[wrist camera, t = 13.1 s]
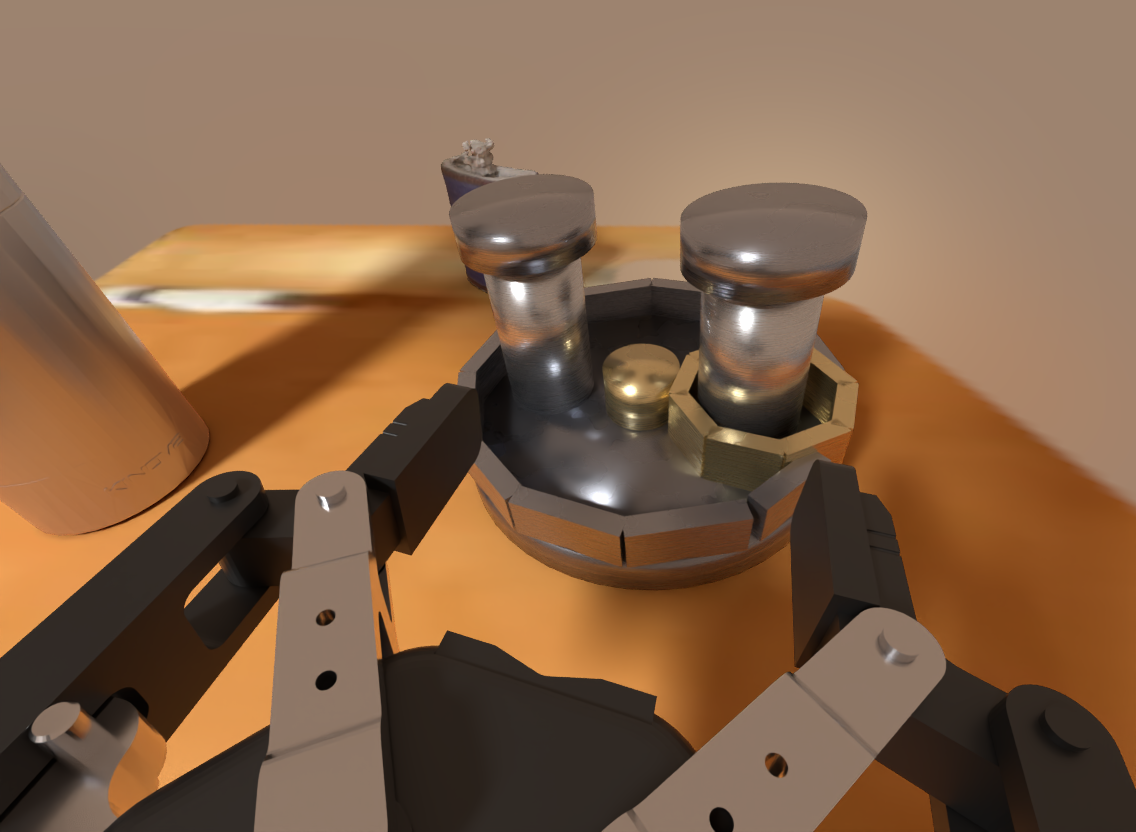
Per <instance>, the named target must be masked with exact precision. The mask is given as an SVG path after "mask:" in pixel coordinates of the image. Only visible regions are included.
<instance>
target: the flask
mask: <svg viewBox="0 0 1136 832" xmlns="http://www.w3.org/2000/svg"><path fill="white" fill-rule="evenodd" d="M486 141H487V142H486V143H483V142H480V141H478V140H471V141H470V143H471V145H470V146H469V145H468V141H466V142H464V143H463V148H464V150H465V152H464V153H462V154H461V155H459V156H454V157H452V158H449V159H446V160H444V161H443V162H442V164H441V170H442V174H443V177H444V180H445V184H446V187H447V192H448V196H449V201H450V204H451V206H452V205H453V204H454V203H455V202H456V201H457V200H458V199H459V198H460V197H462V196H463V195H465V194H466V193H468V192H470V191H472V190H474V189H476V188H478V187H481V186H484V185H486V184H489V183H492V182H496V181H500V180H503V179H508V178H513V177H519V176H526V175H539V174H538V173H537V172H535V171H532V170H522V169H513V168H508V167H502V166H496V165H493V164H492V160H493V155H492V153H490V152H489V151H490V150H491V149H493V147H494V143H493V141H491V139H490V138H489V139H486ZM469 149H470V150H471V152H472V156H468V152H467V151H468V150H469ZM465 267H466V273H467V277H468V281H470V283H471V284H472V285H474V286H476V287H477V288H479V289H482V290H483V291H484V292H486V293H488V290H487V286H486V282H485V278H484V274H483V273H479V272H477V271H474V270H472V269H470V268H469V267H467V266H466V265H465Z"/></svg>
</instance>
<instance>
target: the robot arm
mask: <svg viewBox="0 0 1136 832" xmlns="http://www.w3.org/2000/svg"><path fill="white" fill-rule="evenodd" d="M208 443H209V429H208V427H207V426H206V424H205V422H204V421H203V420H202V418H201V417H200V416H199V415H198V413H197V412H196V411H195V410H194V408H193V407H192V406H191V404H190V403H189V402H188V401H187V399H186V398H185V397H184V396H183V394H182V393H181V392H180V390H179V389H178V388H177V387H176V385H175V384H174V383H173V382H172V380H171V379H170V378H169V376H168V375H167V373H166V372H165V371H164V370H163V368H162V367H161V366H160V365H159V363H158V362H157V361H156V359H155V358H154V357H153V356H152V354H151V353H150V352H149V351H148V349H147V348H146V347H145V345H144V344H143V343H142V342H141V340H140V339H139V338H138V337H137V335H136V334H135V333H134V332H133V330H132V329H131V328H130V326H129V325H128V324H127V323H126V321H125V320H124V319H123V318H122V316H121V315H120V314H119V313H118V311H117V310H116V309H115V307H114V306H113V305H112V304H111V302H110V301H109V300H108V299H107V297H106V296H105V295H104V294H103V292H102V291H101V290H100V288H99V287H98V286H97V285H96V283H95V282H94V281H93V280H92V278H91V277H90V276H89V274H88V273H87V272H86V271H85V269H84V268H83V267H82V266H81V264H80V263H79V262H78V261H77V259H76V258H75V257H74V256H73V254H72V253H71V252H70V250H69V249H68V248H67V247H66V245H65V244H64V243H63V242H62V240H61V239H60V238H59V236H58V235H57V234H56V233H55V231H54V230H53V229H52V228H51V226H50V225H49V224H48V222H47V221H46V220H45V219H44V218H43V216H42V215H41V214H40V212H39V211H38V210H37V209H36V207H35V206H34V205H33V203H32V202H31V201H30V200H29V198H28V197H27V196H26V195H25V193H24V192H23V191H22V190H21V189H20V188H19V186H18V185H17V184H16V183H15V181H14V180H13V179H12V177H11V176H10V175H9V174H8V172H7V171H6V170H5V169H4V167H3V166H2V165H1V163H0V500H1V501H2V502H3V503H5V504H6V505H7V506H9V507H10V508H11V509H12V510H14V511H15V512H16V513H18V514H19V515H20V516H22V517H23V518H24V519H26V520H27V521H28V522H30V523H31V524H32V525H34V526H35V527H36V528H38V529H40V530H41V531H43V532H45V533H49V534H54V535H77V534H81V533H86V532H91V531H95V530H99V529H101V528H104V527H107V526H110V525H113V524H116V523H118V522H120V521H122V520H125V519H127V518H129V517H131V516H133V515H135V514H137V513H139V512H141V511H142V510H144V509H146V508H147V507H149V506H151V505H152V504H154V503H156V502H157V501H159V500H160V499H161V498H163V497H164V496H165V495H167V494H168V493H169V492H171V491H172V490H173V489H175V488H176V487H177V486H178V485H179V484H180V483H181V482H182V481H183V480H184V479H185V478H186V477H188V476H189V474H190V473H191V472H192V471H193V470H194V468H195V467H196V466H197V465H198V463H199V462H200V461H201V459H202V457H203V455H204V453H205V452H206V450H207V446H208ZM481 443H482V432H481V420H480V409H479V397H478V392H477V390H476V389H474V388H469V387H465V386H460V385H455V384H450V383H446V384H444V385H443V386H442V387H441V388H440V389H439V390H438V391H437V392H436V393H435V394H434V396H433V397H432V398H431V399H430V400H429V399H425V398H423V399H421V400H419V401H417V402H415V403H414V404H412V405H410V406H408V407H406V408H405V409H404V410H403V411H402V412H401V413H400V414H399V415H398V416H397V417H396V418H395V419H394V420H393V423H390V425H389V426H388V427H387V428H386V429H385V430H384V431H383V434H380V435H379V436H378V437H377V438H376V439H375V440H374V441H373V442H372V443H371V444H370V445H369V447H368V448H367V449H366V450H365V451H364V452H363V453H362V454H361V455H360V456H359V457H358V458H357V459H356V460H355V461H354V462H353V463H352V464H351V465H350V466H349V468H348V469H347V470H346V471H333V472H328V473H324V474H322V475H319V476H317V477H315V478H313V479H311V480H310V481H308V482H307V483H306V484H305V485H304V486H303V487H302V488H301V489H300V490H264V488H263V486H262V483H261V481H260V479H259V478H258V477H257V476H256V475H255V474H253V473H250V472H246V471H232V472H226V473H222V474H219V475H216V476H214V477H211V478H209V479H208V480H206V481H204V482H202V483H201V484H200V485H198V486H197V487H196V488H195V489H193V490H192V491H191V492H190V493H189V494H188V495H187V496H185V497H184V498H183V499H182V500H181V501H180V502H179V503H177V504H176V505H175V506H174V507H173V508H172V509H171V510H169V511H168V512H167V513H166V514H165V515H164V516H162V517H161V518H160V519H159V520H158V521H157V522H156V523H154V524H153V525H152V526H151V527H150V528H149V529H148V530H146V531H145V532H144V533H143V534H142V535H141V536H140V537H138V538H137V539H136V540H135V541H134V542H133V543H132V544H130V545H129V546H128V547H127V548H126V549H125V550H124V551H122V552H121V553H120V554H119V555H118V556H117V557H116V558H114V559H113V560H112V561H111V562H110V563H109V564H108V565H106V566H105V567H104V568H103V569H102V570H101V571H100V572H98V573H97V574H96V575H95V576H94V577H93V578H92V579H90V580H89V581H88V582H87V583H86V584H85V585H84V586H82V587H81V588H80V589H79V590H78V591H77V592H76V593H74V594H73V595H72V596H71V597H70V598H69V599H68V600H66V601H65V602H64V603H63V604H62V605H61V606H60V607H58V608H57V609H56V610H55V611H54V612H53V613H52V614H50V615H49V616H48V617H47V618H46V619H45V620H44V621H42V622H41V623H40V624H39V625H38V626H37V627H36V628H34V629H33V630H32V631H31V632H30V633H29V634H28V635H26V636H25V637H24V638H23V639H22V640H21V641H20V642H18V643H17V644H16V645H15V646H14V647H13V648H12V649H10V650H9V651H8V652H7V653H6V654H5V655H4V656H2V657H1V658H0V832H813V831H814V830H815V829H816V828H817V827H818V825H819V824H820V823H821V822H822V821H823V820H824V818H825V817H826V816H827V815H828V814H829V812H830V811H831V810H832V809H833V808H834V806H835V805H836V804H837V803H838V802H839V801H840V799H841V798H842V797H843V796H844V795H845V793H846V792H847V791H848V790H849V789H850V787H851V786H852V785H853V784H854V783H855V782H856V780H857V779H858V778H859V777H860V776H861V774H862V773H863V772H864V771H865V770H866V768H867V767H868V766H869V765H870V764H871V763H872V761H873V760H874V759H875V760H877V761H878V762H880V763H881V764H883V765H884V766H886V767H888V768H889V769H891V770H892V771H894V772H895V773H897V774H899V775H900V776H902V777H903V778H905V779H906V780H908V781H910V782H911V783H913V784H914V785H916V786H917V787H919V788H921V789H922V790H924V791H925V792H927V793H928V794H929V797H930V804H931V811H932V818H933V825H934V832H1136V789H1135V787H1134V784H1133V782H1132V779H1131V777H1130V775H1129V772H1128V770H1127V767H1126V765H1125V762H1124V760H1123V758H1122V755H1121V753H1120V750H1119V748H1118V747H1117V745H1116V743H1115V741H1114V739H1113V738H1112V736H1111V735H1110V733H1109V732H1108V731H1107V730H1106V728H1105V727H1104V726H1103V725H1102V724H1101V723H1100V722H1099V721H1098V720H1097V719H1096V718H1095V717H1094V716H1093V715H1092V714H1091V713H1090V712H1089V711H1088V710H1086V709H1085V708H1084V707H1082V706H1081V705H1080V704H1078V703H1077V702H1076V701H1074V700H1072V699H1071V698H1069V697H1067V696H1066V695H1064V694H1061V693H1059V692H1057V691H1055V690H1052V689H1050V688H1047V687H1043V686H1039V685H1031V684H1029V685H1021V686H1017V687H1015V688H1014V689H1012V690H1011V691H1010V692H1009V693H1008V694H1007V693H1006V692H1004V691H1002V690H1000V689H998V688H996V687H994V686H992V685H990V684H988V683H987V682H985V681H983V680H981V679H979V678H977V677H975V676H973V675H971V674H969V673H968V672H966V671H964V670H962V669H960V668H959V667H957V666H955V665H954V664H953V663H951V662H950V661H948V660H947V659H946V658H945V655H944V653H943V650H942V648H941V646H940V645H939V643H938V641H937V640H936V639H935V638H934V636H933V635H932V634H931V633H930V632H929V631H928V630H927V629H926V628H925V627H924V626H922V625H921V624H920V623H919V622H917V620H916V616H915V612H914V608H913V604H912V600H911V595H910V591H909V587H908V583H907V579H906V575H905V571H904V566H903V562H902V558H901V556H899V554H900V550H899V546H898V541H897V540H896V539H895V537H896V533H895V529H894V525H893V521H892V517H891V514H890V513H889V512H888V510H887V509H886V508H885V506H884V505H883V504H882V502H881V501H880V500H879V499H878V497H877V496H876V495H872V494H867V493H862V492H860V491H859V486H858V481H857V475H856V470H855V468H854V467H853V466H848V465H843V464H838V463H833V462H829V461H824V460H819V459H816V460H815V461H814V463H813V465H812V467H811V469H810V472H809V474H808V477H807V479H806V482H805V484H804V487H803V489H802V492H801V494H800V497H799V499H798V502H797V504H796V507H795V510H794V513H793V517H792V522H791V530H790V544H791V574H792V603H793V632H794V661H795V667H797V668H800V669H799V670H798V671H796V672H795V673H794V674H792V673H791V672H787V673H785V674H783V675H782V676H781V677H779V678H778V679H777V680H776V681H775V682H774V683H773V684H771V685H770V686H769V687H768V688H767V689H766V690H765V691H764V692H763V693H761V694H760V695H759V696H758V697H757V698H756V699H755V700H754V701H753V702H752V703H750V704H749V705H748V706H747V707H746V708H745V709H744V710H743V711H742V712H741V713H739V714H738V715H737V716H736V717H735V718H734V719H733V720H732V721H731V722H729V723H728V724H727V725H726V726H725V727H724V728H723V729H722V730H721V731H720V732H718V733H717V734H716V735H715V736H714V737H713V738H712V739H711V740H710V741H709V742H707V743H706V744H705V745H704V746H703V747H702V748H701V749H700V750H699V751H697V752H696V751H695V750H694V748H693V747H692V746H691V745H690V743H689V742H688V741H687V740H686V739H685V738H684V737H683V736H682V735H681V734H680V733H679V732H678V731H677V730H676V729H675V728H674V727H672V726H671V725H670V724H669V723H667V722H666V721H665V720H664V719H662V718H660V717H659V716H657V715H656V714H654V710H655V704H656V698H657V696H654V695H651V694H647V693H644V692H641V691H638V690H635V689H632V688H628V687H625V686H622V685H619V684H616V683H612V682H609V681H606V680H603V679H589V678H570V677H550V676H543V675H540V674H539V673H537V672H535V671H534V670H532V669H531V668H529V667H527V666H526V665H524V664H523V663H521V662H520V661H518V660H517V659H515V658H514V657H512V656H511V655H509V654H507V653H506V652H504V651H503V650H501V649H500V648H498V647H497V646H495V645H492V644H489V643H485V642H482V641H479V640H476V639H473V638H470V637H466V636H463V635H460V634H457V633H454V632H450V631H447V632H446V634H445V636H444V638H443V639H442V641H441V643H440V645H439V646H425V647H417V648H412V649H408V650H404V651H401V652H400V651H399V646H398V641H397V636H396V629H395V620H394V612H393V604H392V596H391V587H390V579H389V571H388V565H387V560H388V558H389V557H390V556H391V554H392V553H393V551H398V552H401V553H405V554H408V555H412V554H413V552H414V551H415V549H416V548H417V546H418V545H419V543H420V542H421V540H422V539H423V537H424V536H425V535H426V533H427V532H428V530H429V529H430V527H431V526H432V524H433V523H434V521H435V520H436V518H437V517H438V515H439V514H440V512H441V511H442V509H443V508H444V507H445V505H446V504H447V502H448V501H449V499H450V498H451V496H452V495H453V493H454V492H455V490H456V489H457V487H458V486H459V484H460V483H461V481H462V480H463V479H464V477H465V476H466V474H467V473H468V471H469V470H470V468H471V467H472V465H473V464H474V462H475V461H476V459H477V457H478V455H479V452H480V448H481ZM218 562H219V564H220V566H221V568H222V569H221V570H220V571H219V572H218V573H217V574H216V575H215V576H214V577H213V578H212V579H211V580H210V581H209V583H208V584H207V585H206V586H205V587H204V588H203V589H202V590H201V591H200V592H199V593H198V594H197V595H196V597H195V598H194V599H193V600H192V601H191V602H190V603H189V604H188V605H187V606H186V607H185V608H184V605H185V602H186V599H187V597H188V596H189V594H190V593H191V591H192V590H193V589H194V588H195V587H196V586H197V585H198V584H199V582H200V581H201V580H202V579H203V578H204V577H205V576H206V575H207V574H208V573H209V572H210V571H211V570H212V569H213V568H214V567H215V566H216V564H217V563H218ZM278 599H279V607H278V621H277V635H276V649H275V664H274V678H273V692H272V706H271V721H270V725H268V726H266V727H265V728H263V729H261V730H259V731H258V732H256V733H254V734H253V735H251V736H249V737H247V738H246V739H244V740H242V741H241V742H239V743H237V744H235V745H234V746H232V747H230V748H229V749H227V750H225V751H223V752H222V753H220V754H218V755H217V756H215V757H213V758H211V759H210V760H208V761H206V762H205V763H203V764H201V765H199V766H198V767H196V768H194V769H193V770H191V771H189V772H187V773H186V774H184V775H182V776H181V777H179V778H177V779H175V780H174V781H172V782H170V783H169V784H167V785H165V786H163V787H162V788H160V789H158V786H159V780H158V776H159V774H160V772H161V770H162V768H163V765H164V762H165V759H166V753H167V748H166V742H167V741H168V739H169V738H170V737H171V736H172V734H173V733H174V732H175V731H176V729H177V728H178V727H179V725H180V724H181V723H182V722H183V720H184V719H185V718H186V716H187V715H188V714H189V713H190V711H191V710H192V709H193V707H194V706H195V705H196V704H197V702H198V701H199V700H200V698H201V697H202V696H203V695H204V693H205V692H206V691H207V690H208V688H209V687H210V686H211V684H212V683H213V682H214V681H215V679H216V678H217V677H218V675H219V674H220V673H221V672H222V670H223V669H224V668H225V666H226V665H227V664H228V663H229V661H230V660H231V659H232V657H233V656H234V655H235V654H236V652H237V651H238V650H239V649H240V647H241V646H242V645H243V643H244V642H245V641H246V640H247V638H248V637H249V636H250V634H251V633H252V632H253V631H254V629H255V628H256V627H257V625H258V624H259V623H260V622H261V620H262V619H263V618H264V616H265V615H266V614H267V613H268V611H269V610H270V609H271V608H272V606H273V605H274V604H275V602H276V601H277V600H278ZM157 789H158V790H157Z"/></svg>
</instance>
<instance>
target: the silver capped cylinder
mask: <svg viewBox="0 0 1136 832" xmlns="http://www.w3.org/2000/svg"><path fill="white" fill-rule="evenodd" d="M866 220H867V211H866V208H865V207H864V205H863V204H862V203H861V202H860V201H858V200H857V199H855V198H854V197H852V196H850V195H848V194H846V193H843V192H840V191H837V190H834V189H830V188H826V187H821V186H816V185H809V184H799V183H762V184H751V185H743V186H738V187H732V188H728V189H723V190H720V191H716V192H713V193H711V194H708V195H705V196H703V197H701V198H699V199H697V200H696V201H694V202H693V203H691V204H690V205H688V206H687V207H686V208H685V209H684V211H683V212H682V215H681V230H680V268H681V272H682V275H683V276H684V278H685V279H686V280H687V281H688V282H689V283H690V284H691V285H693V286H694V287H695V288H697V289H699V290H701V310H700V340H699V369H698V399H697V403H698V404H699V405H700V406H701V408H702V409H703V410H704V411H705V412H706V413H707V414H708V416H709V417H710V418H711V419H712V420H713V421H714V422H715V424H716V425H717V426H719V427H723V428H728V429H733V430H737V431H742V432H747V433H751V434H756V435H761V436H765V437H770V438H775V439H779V440H780V439H783V438H785V437H788V436H791V435H793V434H796V433H797V428H798V423H799V418H800V413H801V408H802V403H803V398H804V393H805V388H806V383H807V378H808V373H809V368H810V363H811V358H812V353H813V348H814V343H815V338H816V333H817V328H818V323H819V318H820V313H821V308H822V303H823V298H824V295H825V294H827V293H830V292H832V291H834V290H836V289H838V288H839V287H841V286H842V285H844V284H845V283H846V282H847V281H848V280H850V278H851V277H852V275H853V273H854V271H855V267H856V263H857V259H858V254H859V250H860V245H861V241H862V237H863V233H864V229H865V224H866Z"/></svg>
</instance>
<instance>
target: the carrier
mask: <svg viewBox="0 0 1136 832" xmlns="http://www.w3.org/2000/svg"><path fill="white" fill-rule="evenodd" d="M449 216H450V220H451V224H452V228H453V231H454V235H455V239H456V243H457V246H458V250H459V254H460V257H461V260H462V262H463V263H464V264H465V265H466V266H467V267H469V268H470V269H472V270H474V271H477V272H479V273H483V274H484V278H485V282H486V286H487V290H488V294H489V298H490V302H491V307H492V311H493V315H494V319H495V323H496V327H497V330H496V331H495V332H494V333H493V335H492V336H491V337H490V338H489V339H488V340H487V341H486V342H485V343H484V344H483V345H482V347H481V348H480V349H479V350H478V351H477V352H476V353H475V354H474V355H473V356H472V358H471V359H470V360H469V361H468V362H467V363H466V364H465V365H464V366H463V367H462V368H461V370H460V372H459V375H458V385H460V386H465V387H469V388H474V389H476V390H477V392H478V397H479V409H480V420H481V432H482V443H481V448H480V452H479V455H478V457H477V459H476V461H475V462H474V464H473V465H472V467H471V468H470V470H469V471H468V473H469V474H470V475H471V476H472V478H473V479H474V480H475V483H476V486H477V489H478V492H479V494H480V496H481V499H482V501H483V504H484V506H485V508H486V510H487V511H488V513H489V514H490V516H491V518H492V519H493V521H494V522H495V524H496V525H497V526H498V527H499V528H500V530H501V531H502V532H503V533H504V534H505V535H506V536H507V537H508V538H509V539H510V540H511V541H512V542H513V543H514V544H516V545H517V546H518V547H519V548H520V549H522V550H523V551H524V552H525V553H527V554H528V555H530V556H531V557H533V558H535V559H536V560H538V561H540V562H541V563H543V564H545V565H546V566H548V567H550V568H553V569H555V570H557V571H560V572H562V573H564V574H567V575H569V576H571V577H574V578H578V579H581V580H585V581H588V582H592V583H595V584H599V585H605V586H611V587H617V588H624V589H639V590H664V589H677V588H687V587H692V586H697V585H701V584H706V583H711V582H715V581H718V580H721V579H724V578H727V577H730V576H733V575H736V574H739V573H741V572H743V571H745V570H747V569H749V568H751V567H753V566H755V565H757V564H759V563H761V562H763V561H765V560H766V559H768V558H769V557H771V556H772V555H773V554H775V553H776V552H778V551H779V550H781V549H782V548H783V547H785V546H786V545H787V544H788V543H789V542H790V530H791V522H792V517H793V513H794V510H795V507H796V504H797V502H798V499H799V497H800V494H801V492H802V489H803V487H804V484H805V482H806V479H807V477H808V474H809V472H810V469H811V467H812V465H813V463H814V461H815V460H816V459H819V460H824V461H829V462H833V463H838V464H842V461H843V458H844V455H845V453H846V450H847V447H848V444H849V441H850V438H851V435H852V432H853V429H854V421H855V413H856V404H857V396H858V387H859V383H857V380H856V379H854V378H853V377H852V376H850V375H849V374H848V373H846V372H845V369H844V368H843V367H842V365H841V364H840V363H839V361H838V360H837V359H836V358H835V356H834V355H833V354H832V353H831V351H830V350H829V349H828V347H827V346H826V345H825V344H824V342H823V341H822V340H821V338H820V337H819V336H818V335H817V333H816V338H815V343H814V348H813V353H812V358H811V363H810V368H809V373H808V378H807V383H806V388H805V393H804V398H803V403H802V408H801V413H800V418H799V423H798V428H797V433H796V434H793V435H791V436H788V437H785V438H783V439H780V440H779V439H775V438H770V437H765V436H761V435H756V434H751V433H747V432H742V431H737V430H733V429H728V428H723V427H719V426H717V425H716V424H715V422H714V421H713V420H712V419H711V418H710V417H709V416H708V414H707V413H706V412H705V411H704V410H703V409H702V408H701V406H700V405H699V404H698V403H697V399H698V369H699V340H700V310H701V290H699V289H697V288H695V287H694V286H693V285H691V284H690V283H689V282H684V281H675V280H667V279H658V278H653V280H652V281H651V278H648V279H641V280H634V281H627V282H620V283H614V284H607V285H600V286H594V287H587V288H584V285H583V276H582V266H581V257H582V256H583V255H585V254H586V253H587V252H588V251H589V250H590V249H591V248H592V247H593V246H594V244H595V242H596V239H597V230H596V218H595V205H594V193H593V189H592V187H591V186H590V185H589V184H588V183H586V182H585V181H583V180H580V179H578V178H574V177H570V176H564V175H553V174H551V175H550V174H539V175H526V176H519V177H513V178H508V179H503V180H500V181H496V182H492V183H489V184H486V185H484V186H481V187H478V188H476V189H474V190H472V191H470V192H468V193H466V194H465V195H463V196H462V197H460V198H459V199H458V200H457V201H456V202H455V203H454V204H453V205H452V206H451V208H450V211H449Z"/></svg>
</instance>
